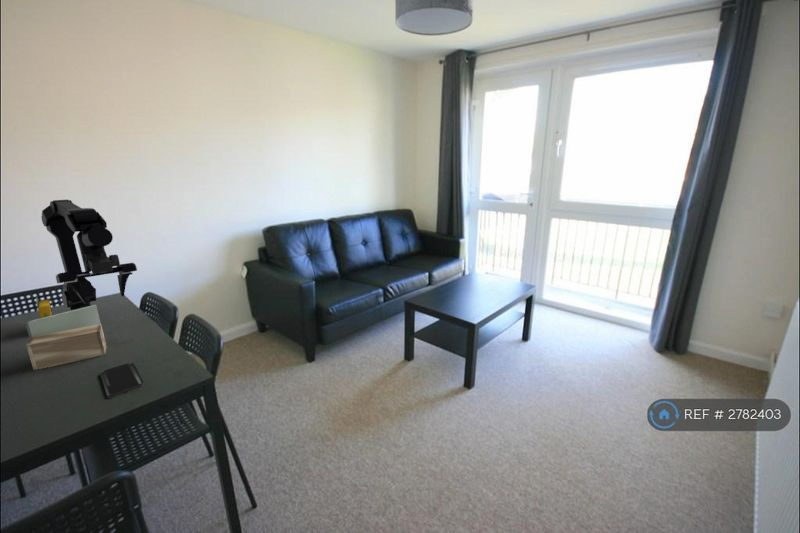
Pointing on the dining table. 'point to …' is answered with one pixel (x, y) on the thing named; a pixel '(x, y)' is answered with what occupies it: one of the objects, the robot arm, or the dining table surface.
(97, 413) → the dining table surface
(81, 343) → the crate
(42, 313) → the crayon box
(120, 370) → the phone
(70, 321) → the flap
